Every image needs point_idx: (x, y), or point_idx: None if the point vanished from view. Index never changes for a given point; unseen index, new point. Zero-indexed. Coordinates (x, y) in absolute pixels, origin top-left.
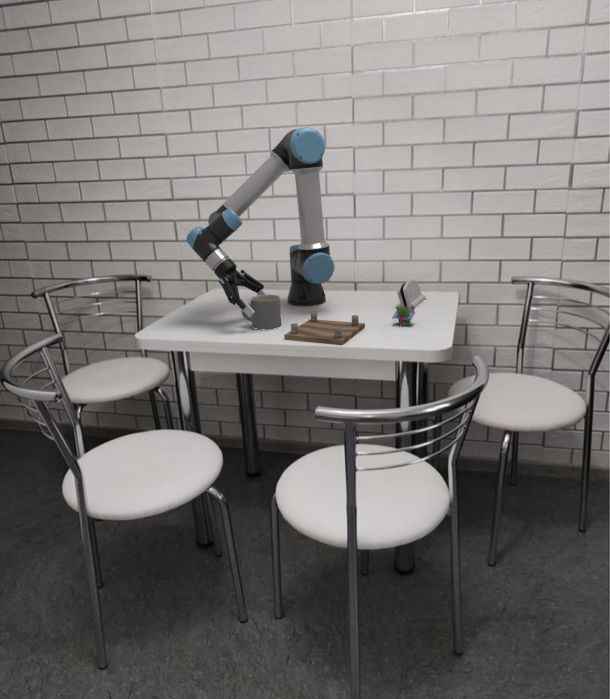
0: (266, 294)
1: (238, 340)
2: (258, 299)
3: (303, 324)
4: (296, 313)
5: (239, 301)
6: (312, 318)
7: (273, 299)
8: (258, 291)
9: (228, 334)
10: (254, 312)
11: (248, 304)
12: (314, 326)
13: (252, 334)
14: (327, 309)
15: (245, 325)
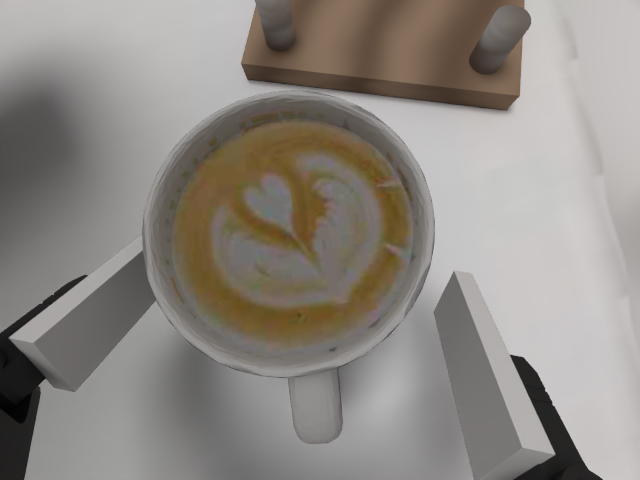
0: (89, 278)
1: (581, 312)
2: (238, 313)
3: (336, 66)
4: (77, 186)
5: (571, 444)
6: (291, 24)
7: (236, 172)
8: (24, 385)
9: None
10: (454, 274)
11: (333, 382)
12: (362, 15)
13: None
14: (17, 73)
15: None
